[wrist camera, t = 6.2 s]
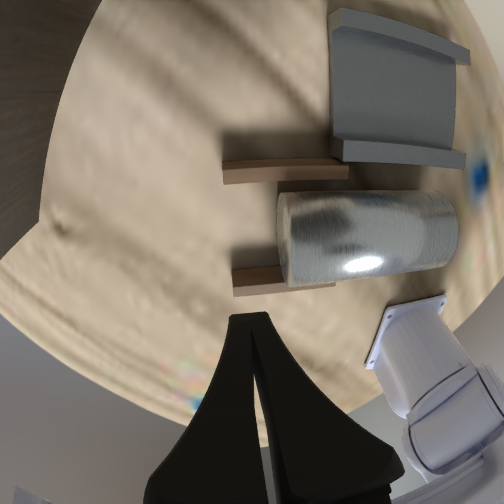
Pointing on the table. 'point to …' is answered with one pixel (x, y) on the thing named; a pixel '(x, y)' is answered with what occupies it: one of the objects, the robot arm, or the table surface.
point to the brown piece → (267, 171)
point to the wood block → (32, 99)
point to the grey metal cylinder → (362, 234)
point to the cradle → (392, 91)
